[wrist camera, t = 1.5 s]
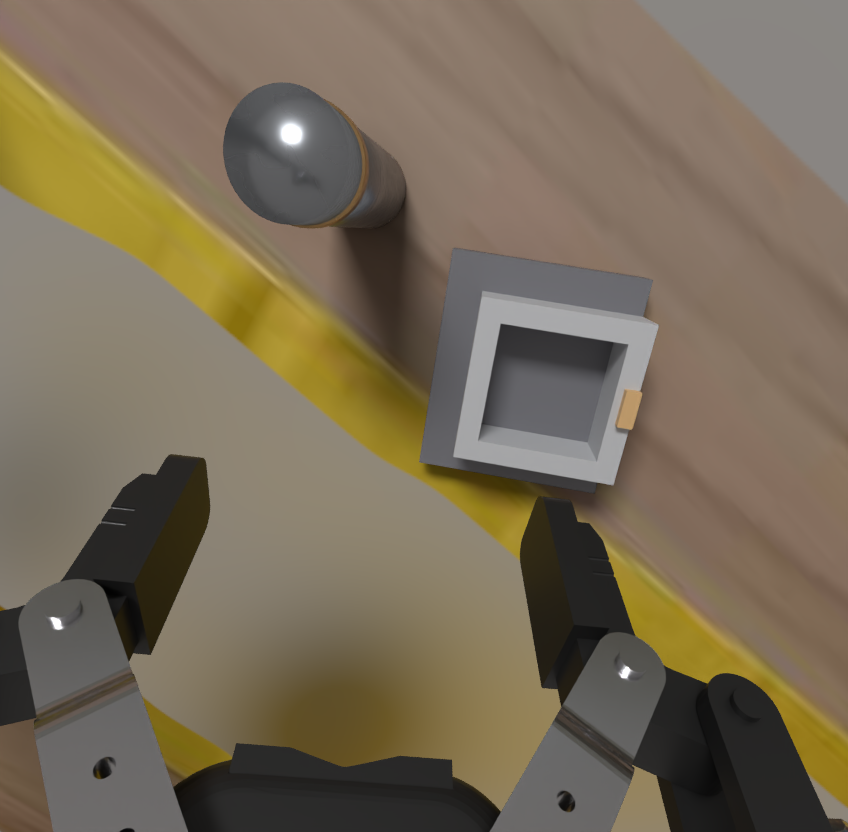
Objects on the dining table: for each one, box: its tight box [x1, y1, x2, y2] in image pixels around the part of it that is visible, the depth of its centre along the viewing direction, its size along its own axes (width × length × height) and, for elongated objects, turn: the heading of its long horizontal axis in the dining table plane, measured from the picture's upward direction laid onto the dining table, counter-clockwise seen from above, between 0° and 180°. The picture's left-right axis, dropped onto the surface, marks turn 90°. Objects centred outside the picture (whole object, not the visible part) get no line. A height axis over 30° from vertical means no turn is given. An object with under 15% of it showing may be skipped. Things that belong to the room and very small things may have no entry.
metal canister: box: [223, 83, 406, 228], centre depth 26 cm, size 5×5×14 cm
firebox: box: [419, 248, 659, 493], centre depth 32 cm, size 11×13×6 cm
